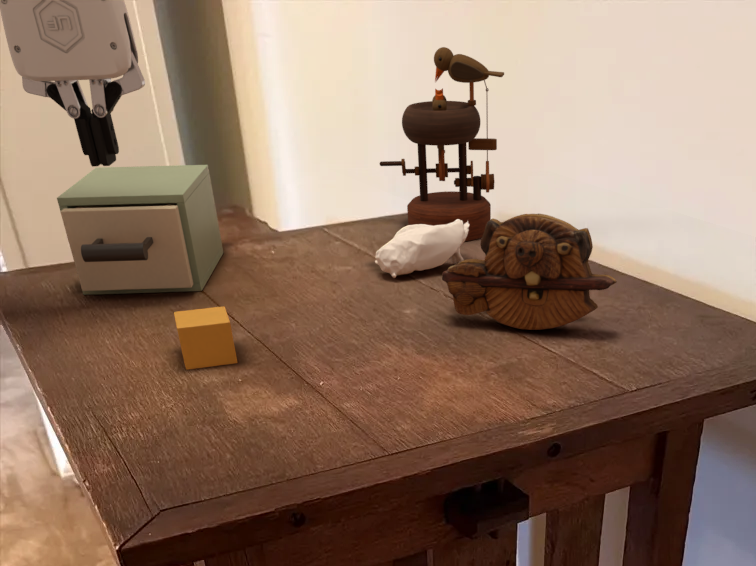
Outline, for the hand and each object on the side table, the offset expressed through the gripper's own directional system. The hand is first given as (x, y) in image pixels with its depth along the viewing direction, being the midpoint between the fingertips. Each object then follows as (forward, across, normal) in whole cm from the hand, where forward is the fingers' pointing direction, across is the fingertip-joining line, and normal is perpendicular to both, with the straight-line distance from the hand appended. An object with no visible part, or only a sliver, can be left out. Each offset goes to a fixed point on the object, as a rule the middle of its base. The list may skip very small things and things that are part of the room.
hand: (104, 162), depth 87 cm
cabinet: (+13, 0, +11) cm, 17 cm away
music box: (+14, +33, +25) cm, 43 cm away
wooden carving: (+14, +40, -11) cm, 43 cm away
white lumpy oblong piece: (+14, +30, +8) cm, 33 cm away
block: (+13, +11, -18) cm, 25 cm away
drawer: (+12, 0, +6) cm, 14 cm away
